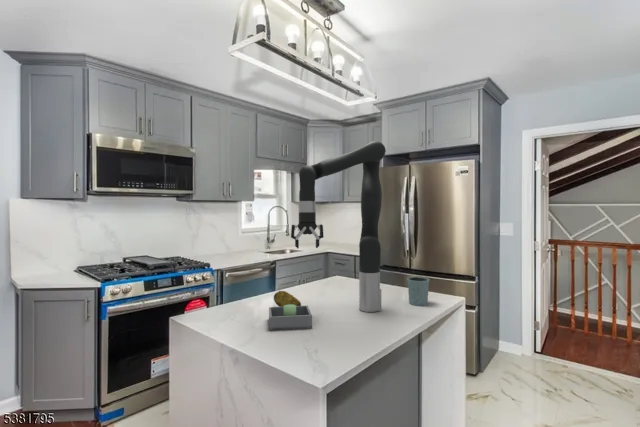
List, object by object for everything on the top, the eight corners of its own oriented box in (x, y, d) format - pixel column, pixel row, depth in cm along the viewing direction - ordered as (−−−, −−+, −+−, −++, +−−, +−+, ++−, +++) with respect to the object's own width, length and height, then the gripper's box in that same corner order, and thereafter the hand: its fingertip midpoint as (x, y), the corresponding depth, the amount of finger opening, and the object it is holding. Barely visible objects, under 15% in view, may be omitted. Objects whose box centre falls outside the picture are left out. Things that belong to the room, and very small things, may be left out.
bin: (307, 317, 151) (307, 305, 151) (312, 328, 137) (312, 315, 137) (269, 319, 148) (268, 307, 148) (269, 330, 135) (269, 317, 135)
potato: (288, 314, 155) (288, 296, 155) (270, 308, 164) (270, 291, 164) (303, 310, 161) (303, 292, 161) (285, 305, 170) (285, 288, 170)
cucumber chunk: (295, 318, 146) (295, 304, 146) (296, 322, 141) (296, 307, 141) (283, 319, 145) (283, 304, 145) (283, 323, 140) (283, 308, 140)
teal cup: (427, 301, 177) (427, 276, 177) (431, 306, 167) (431, 281, 167) (405, 300, 178) (406, 276, 178) (408, 306, 168) (409, 280, 168)
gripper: (321, 211, 164) (321, 246, 164) (290, 211, 162) (290, 247, 162) (324, 211, 157) (324, 248, 157) (291, 211, 154) (291, 249, 155)
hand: (307, 248), depth 160 cm, fingers open, 8 cm apart
